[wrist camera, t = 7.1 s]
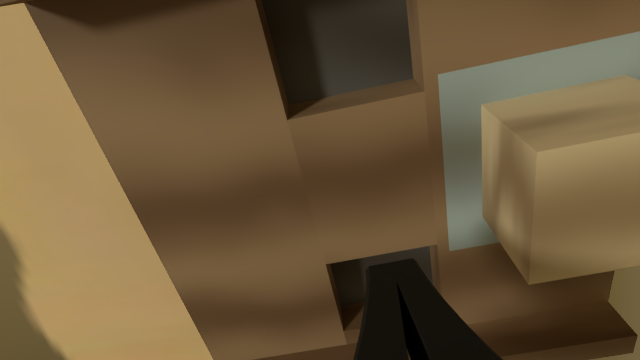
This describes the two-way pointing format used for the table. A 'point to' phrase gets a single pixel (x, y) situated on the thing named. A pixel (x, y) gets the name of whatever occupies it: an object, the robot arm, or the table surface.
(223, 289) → the trap board
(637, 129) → the maple block
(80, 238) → the table surface
